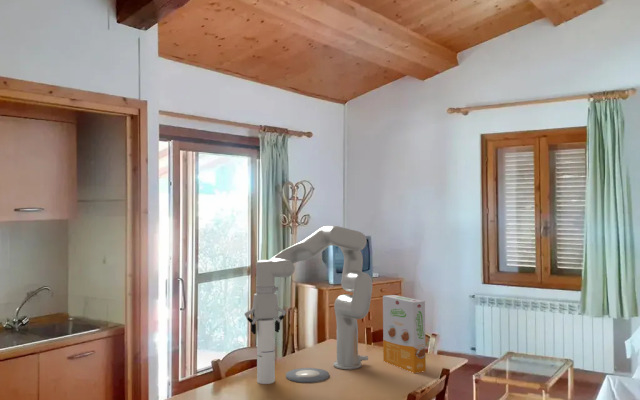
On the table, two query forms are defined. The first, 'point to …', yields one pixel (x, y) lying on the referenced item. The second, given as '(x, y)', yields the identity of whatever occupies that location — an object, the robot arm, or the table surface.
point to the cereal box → (404, 332)
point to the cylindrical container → (266, 351)
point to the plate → (307, 375)
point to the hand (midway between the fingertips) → (265, 332)
